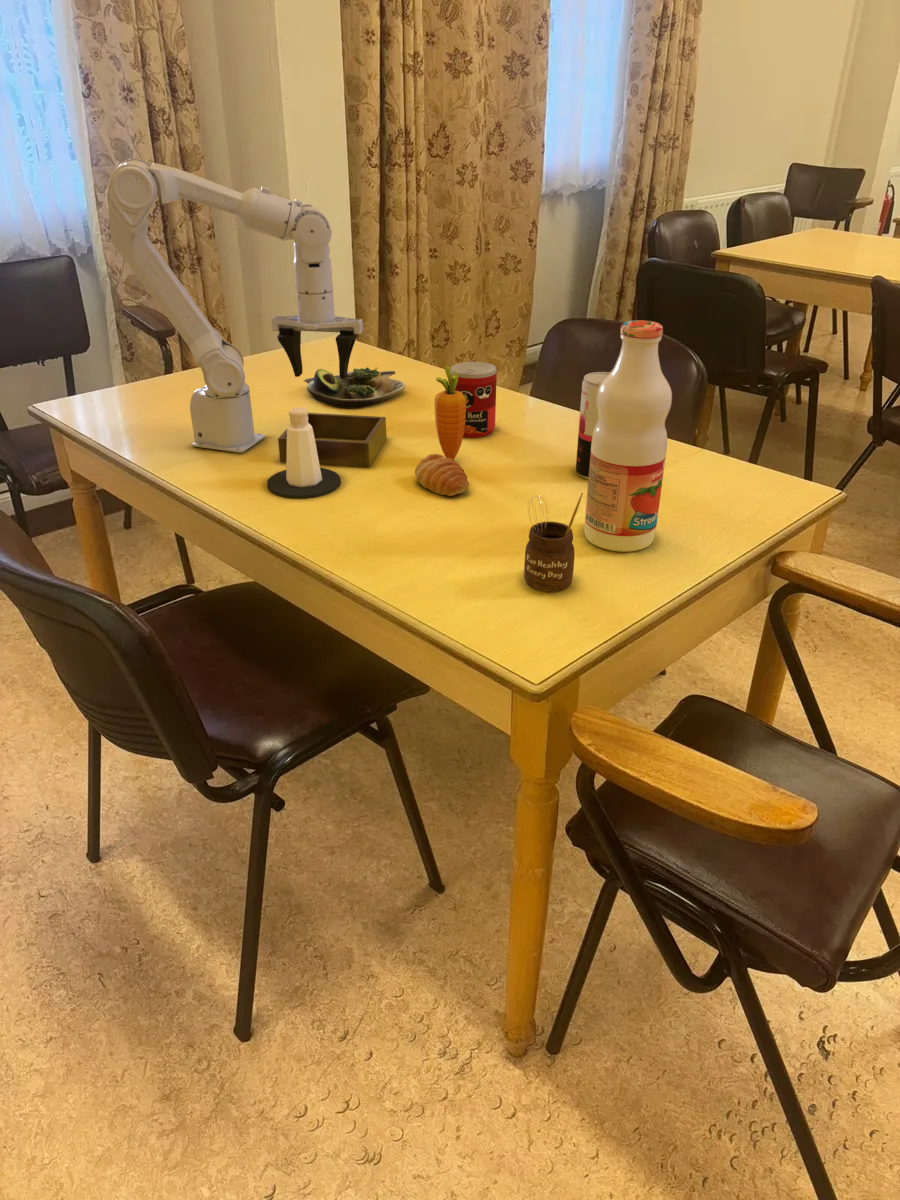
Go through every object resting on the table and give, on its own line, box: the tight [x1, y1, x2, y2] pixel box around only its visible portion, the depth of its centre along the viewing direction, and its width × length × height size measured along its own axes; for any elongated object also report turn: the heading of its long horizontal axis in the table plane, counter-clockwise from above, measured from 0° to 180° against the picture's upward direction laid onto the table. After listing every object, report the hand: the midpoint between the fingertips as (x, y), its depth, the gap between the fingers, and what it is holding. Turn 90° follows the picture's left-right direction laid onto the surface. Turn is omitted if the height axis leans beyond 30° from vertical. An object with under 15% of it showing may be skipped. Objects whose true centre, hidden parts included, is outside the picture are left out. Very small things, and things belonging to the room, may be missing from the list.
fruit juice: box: [583, 319, 673, 553], centre depth 113 cm, size 9×9×28 cm
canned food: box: [450, 361, 498, 439], centre depth 152 cm, size 8×8×11 cm
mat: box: [266, 467, 342, 499], centre depth 135 cm, size 11×11×1 cm
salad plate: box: [303, 367, 406, 409], centre depth 173 cm, size 19×18×5 cm
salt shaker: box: [285, 406, 322, 487], centre depth 132 cm, size 5×5×11 cm
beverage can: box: [575, 371, 611, 480], centre depth 135 cm, size 7×6×15 cm
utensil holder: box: [523, 492, 584, 593], centre depth 106 cm, size 6×6×12 cm
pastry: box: [414, 453, 470, 497], centre depth 133 cm, size 9×7×4 cm
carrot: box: [434, 365, 466, 461], centre depth 139 cm, size 5×5×15 cm
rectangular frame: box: [277, 412, 388, 469], centre depth 146 cm, size 15×13×4 cm
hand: (321, 376), depth 147 cm, fingers open, 7 cm apart
